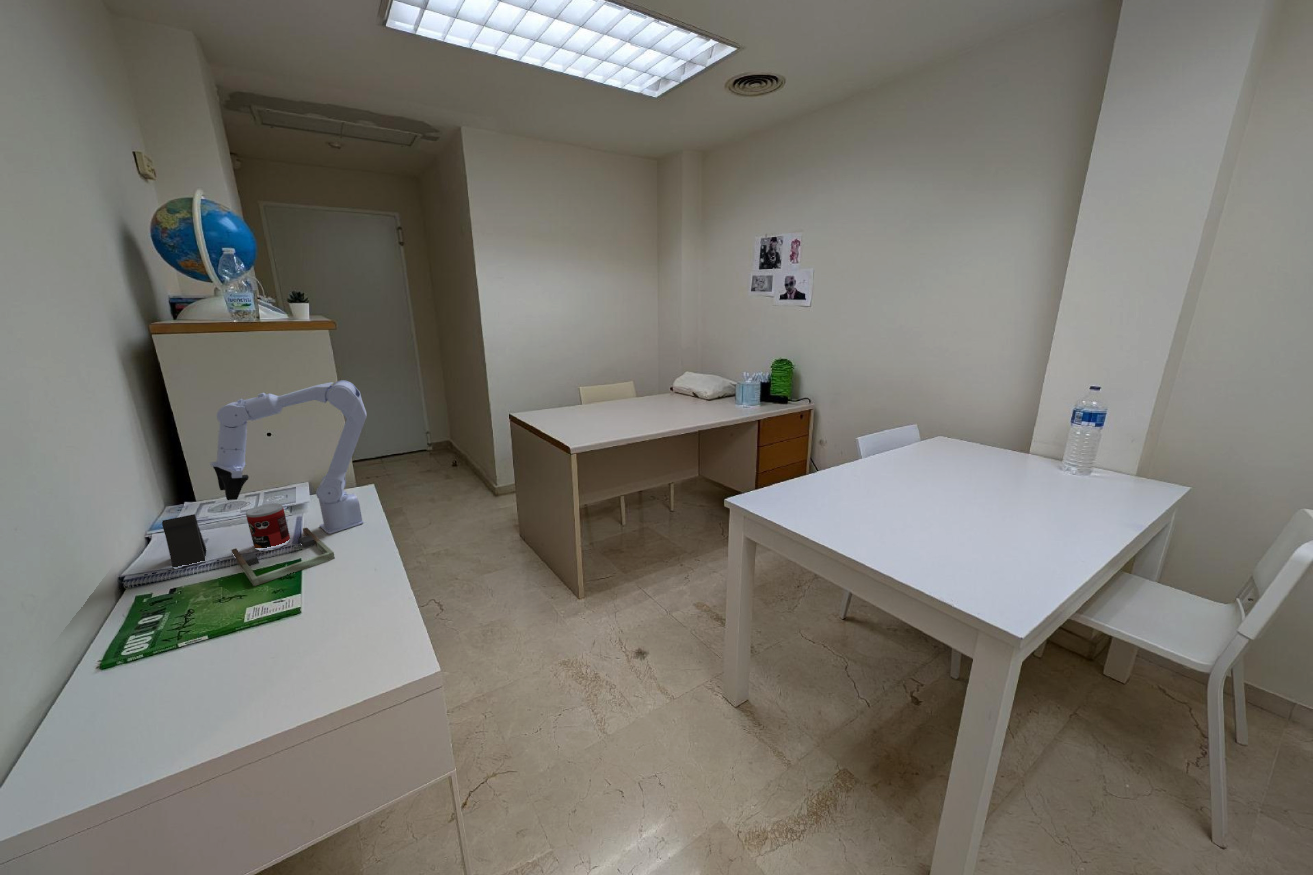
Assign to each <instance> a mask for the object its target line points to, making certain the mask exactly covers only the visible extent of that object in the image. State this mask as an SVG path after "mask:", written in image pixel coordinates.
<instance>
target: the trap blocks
mask: <svg viewBox="0 0 1313 875" xmlns="http://www.w3.org/2000/svg"><path fill="white" fill-rule="evenodd" d="M298 540H299V544H300V543H301V544H302V545H301V544H300V545H301V546H302V547H303V549H308V548H311V547H313V546H316V545H315V541H314V539H313V538H312V537H311V536H310V535H307V536H305V535H304V536H301V537H298ZM241 556H242V557H243V559H244V560H245V561H246V563H247V564H248V565H249V567H252V566H255V565H258V564H260V562H259V557H258V555H257V554H256V553H255V552H254V551H253V552H250V553H245V554H243V555H242V554H241Z"/></svg>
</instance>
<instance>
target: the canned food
mask: <svg viewBox="0 0 1313 875" xmlns="http://www.w3.org/2000/svg"><path fill="white" fill-rule="evenodd" d="M245 517H246V521H247V524H248V528H249V532H250V536H251V540H252V544H253V547H254V548H267V547H271V546H276V545H279V544H282V543H285V542H286V541H288V540H289V539H290V540H291V536H290V532H289V528H288V522H287V517H286V514H285V509H284V505H283V504H281V503H272V502H271V503H266V504H261V505H257V506H254V507H252V508H250V509H248V510H247V511H246V512H245ZM254 548H253V549H254Z"/></svg>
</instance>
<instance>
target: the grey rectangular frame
mask: <svg viewBox="0 0 1313 875" xmlns="http://www.w3.org/2000/svg"><path fill="white" fill-rule="evenodd" d="M302 532H303V535H304V536H307V535H310V536H311V537H312V538H313V539H314V541H315V545H314V546H316V547H317V548H318V549H319V550H320V551H321V552H322V554H319V555H316V556H313V557H311V558H308V559H304V560H302V561H298V562H295V563H292V564H290V565H286V566H283V567H281V568H278V569H275V570H272V571H269V572H266V573H263V574H260V575H256V574H255V572H254V571H253V569H251V568H252V567H251V566H249V565H248V564H247V563H246V561H245V560H244V559H243V557H242V554H241V553H240V552H239V550H238V549H237V548H233V549H231V554H232V553H233V554H234V556H235V557H236V560H237V561H236V560H235V561H236V562H237V563H238V566H239V567H240V569H242V572H243V573H244V575H246V578H248V580H249V581H250V583H251V584H252V586H253V587H257V586H259V585H262V584H265V583H268V582H271V581H273V580H277V579H279V578H280V579H281V578H282V577H285V576H287V574H288V575H291V574H294V573H296V572H299V571H302V570H305V569H308V568H311V567H314V566H317V565H319V564H322V563H325V562H328V561H330V560H331V561H332V560H333V559H335V558H336V556H335V553H334V551H333V550H332V549H331V548H330V547H329V546H327V545H326V544H325V543H324V541H322V540H321V539H320V538H319V537H318V536H317V535H316V534H315V533H313V531H311V530H310V529H309V528H308V527H302ZM233 554H232V555H233ZM293 572H294V573H293ZM290 573H291V574H290Z"/></svg>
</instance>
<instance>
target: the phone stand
mask: <svg viewBox="0 0 1313 875" xmlns="http://www.w3.org/2000/svg"><path fill="white" fill-rule="evenodd" d="M197 519H198V518H197V517H196V514H193V513H192V514H188V515H184V516H178V517H174V518H168V519H164V520H162V521H161V525H162V530H163V532H164V536H165V540H166V543H167V544H166V545H167V548H168V553H169V557H170V562H171V566H172V568H173V567H178V566H182V565H189V564H192V563H197V562H200V561H205V556H206V557H207V550H206V549H207V546H206V544H205V541H204V538H203V535H202V532H201V529H200V527H199V523H198V521H197Z"/></svg>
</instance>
